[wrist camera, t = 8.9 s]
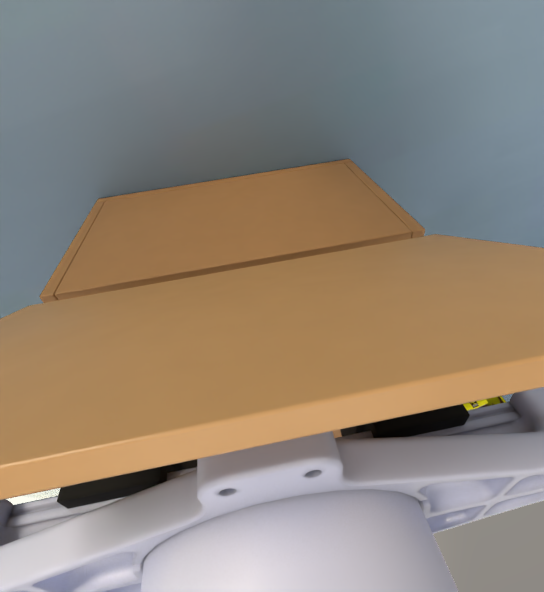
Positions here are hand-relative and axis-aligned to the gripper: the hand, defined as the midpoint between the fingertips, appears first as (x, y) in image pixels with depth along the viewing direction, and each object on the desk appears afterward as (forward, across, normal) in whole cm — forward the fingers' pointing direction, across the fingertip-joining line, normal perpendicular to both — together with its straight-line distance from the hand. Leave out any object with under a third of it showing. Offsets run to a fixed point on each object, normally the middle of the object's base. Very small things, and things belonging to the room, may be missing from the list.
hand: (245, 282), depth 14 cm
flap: (-7, 0, -5) cm, 8 cm away
